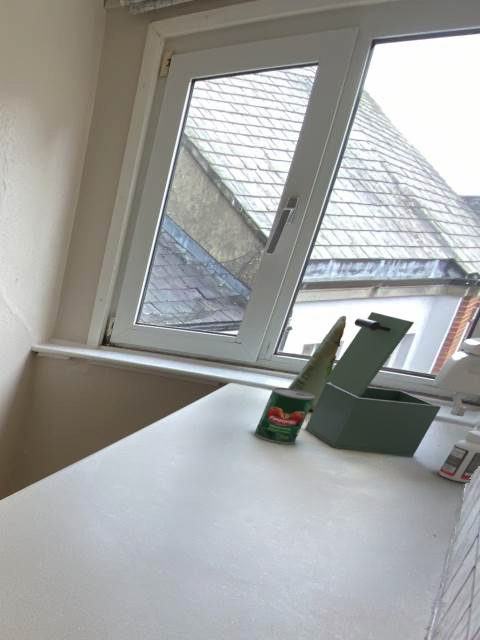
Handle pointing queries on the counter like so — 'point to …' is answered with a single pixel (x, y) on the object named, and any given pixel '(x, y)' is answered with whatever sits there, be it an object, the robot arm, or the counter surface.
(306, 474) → the counter surface
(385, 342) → the lid
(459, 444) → the pill bottle
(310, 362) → the pouch
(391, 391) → the chest
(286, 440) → the canned tomato
